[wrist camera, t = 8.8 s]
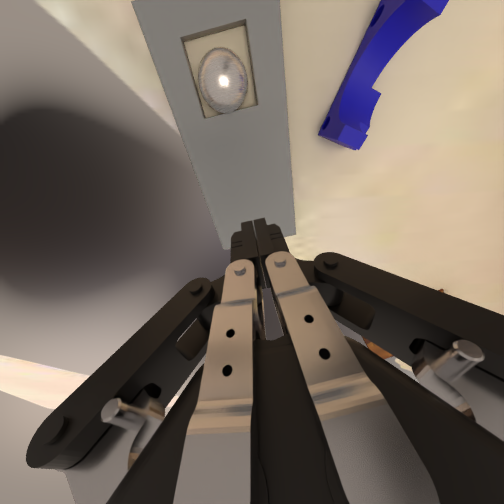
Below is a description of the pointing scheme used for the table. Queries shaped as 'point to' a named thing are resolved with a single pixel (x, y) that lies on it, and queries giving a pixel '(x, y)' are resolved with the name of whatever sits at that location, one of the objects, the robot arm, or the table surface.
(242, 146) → the pocket slab
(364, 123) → the cable clip
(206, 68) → the steel ball
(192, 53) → the table surface
